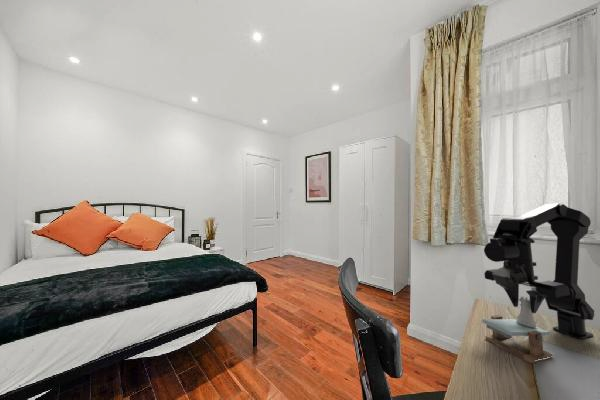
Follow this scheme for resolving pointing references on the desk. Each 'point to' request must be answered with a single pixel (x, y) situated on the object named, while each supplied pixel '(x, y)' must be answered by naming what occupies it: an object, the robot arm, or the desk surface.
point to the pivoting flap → (511, 327)
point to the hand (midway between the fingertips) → (524, 309)
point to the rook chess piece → (526, 314)
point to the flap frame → (534, 344)
